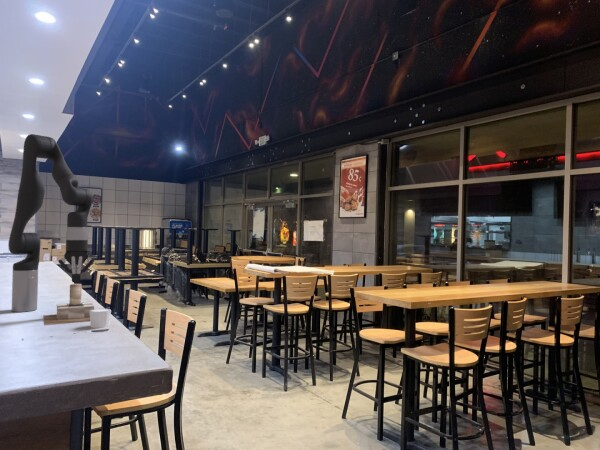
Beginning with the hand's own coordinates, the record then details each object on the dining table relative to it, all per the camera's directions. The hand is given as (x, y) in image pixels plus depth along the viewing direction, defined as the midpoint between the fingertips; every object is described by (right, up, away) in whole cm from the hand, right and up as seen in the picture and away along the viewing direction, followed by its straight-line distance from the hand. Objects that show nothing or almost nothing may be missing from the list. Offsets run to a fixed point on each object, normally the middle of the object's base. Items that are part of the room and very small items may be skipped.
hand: (75, 283), depth 166 cm
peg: (0, -12, 0) cm, 12 cm away
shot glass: (+18, -14, -18) cm, 28 cm away
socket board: (0, -14, -5) cm, 15 cm away
